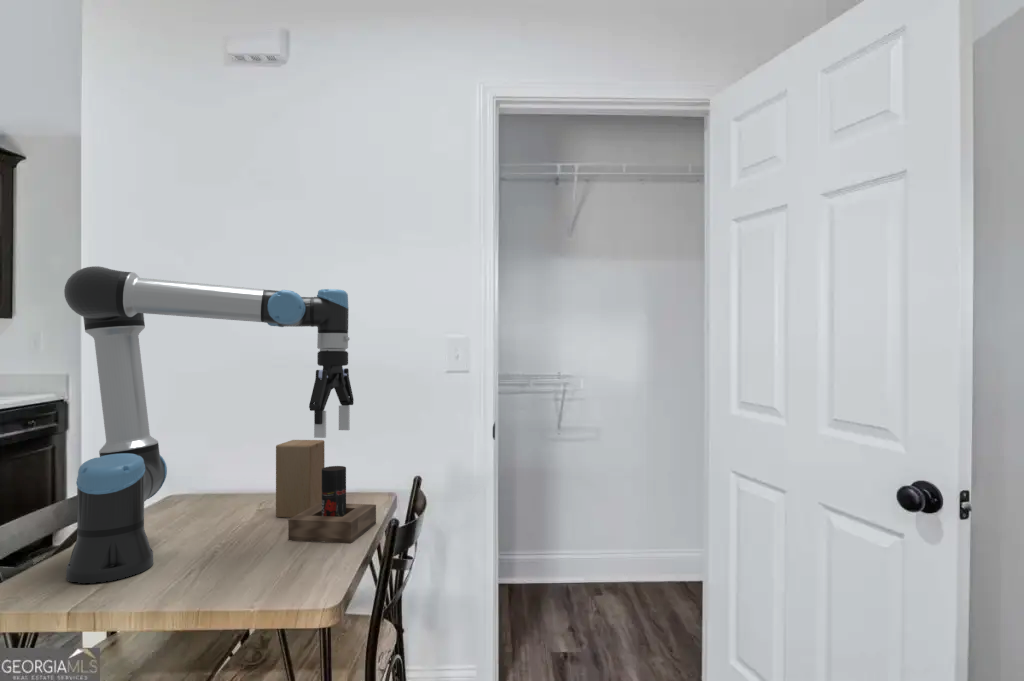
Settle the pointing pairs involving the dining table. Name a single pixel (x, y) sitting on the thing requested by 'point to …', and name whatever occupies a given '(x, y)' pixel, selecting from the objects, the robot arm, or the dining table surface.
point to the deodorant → (334, 491)
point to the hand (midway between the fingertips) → (332, 433)
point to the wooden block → (298, 476)
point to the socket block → (332, 524)
